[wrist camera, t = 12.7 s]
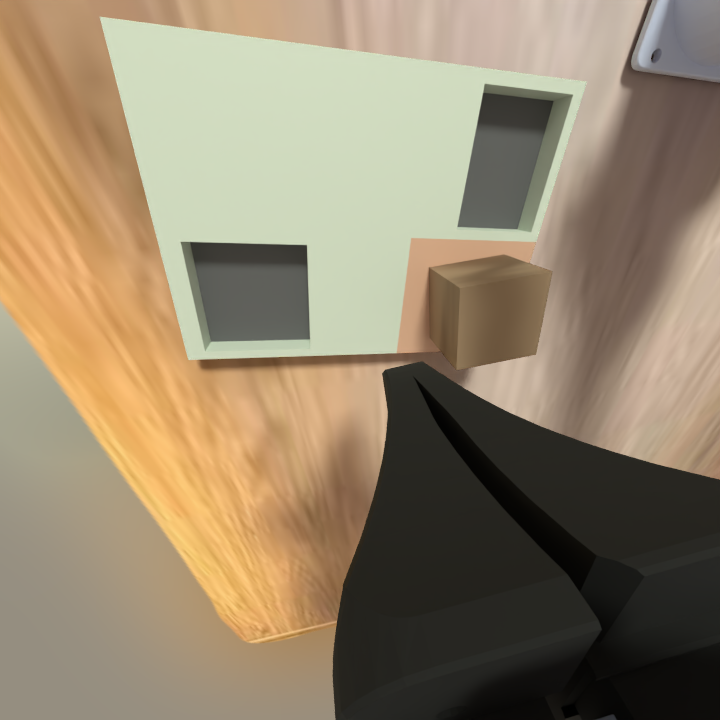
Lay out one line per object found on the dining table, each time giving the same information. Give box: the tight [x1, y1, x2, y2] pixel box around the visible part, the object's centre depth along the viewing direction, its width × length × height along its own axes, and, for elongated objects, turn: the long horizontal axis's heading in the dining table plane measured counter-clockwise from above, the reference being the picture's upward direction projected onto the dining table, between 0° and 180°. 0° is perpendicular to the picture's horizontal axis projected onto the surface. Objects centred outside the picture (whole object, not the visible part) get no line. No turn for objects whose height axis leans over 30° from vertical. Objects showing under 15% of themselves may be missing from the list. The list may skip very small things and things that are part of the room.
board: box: [100, 17, 587, 360], centre depth 17 cm, size 20×14×2 cm
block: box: [429, 254, 552, 370], centre depth 17 cm, size 4×4×4 cm
